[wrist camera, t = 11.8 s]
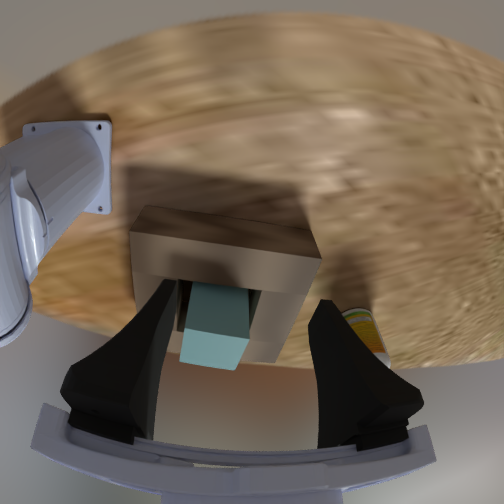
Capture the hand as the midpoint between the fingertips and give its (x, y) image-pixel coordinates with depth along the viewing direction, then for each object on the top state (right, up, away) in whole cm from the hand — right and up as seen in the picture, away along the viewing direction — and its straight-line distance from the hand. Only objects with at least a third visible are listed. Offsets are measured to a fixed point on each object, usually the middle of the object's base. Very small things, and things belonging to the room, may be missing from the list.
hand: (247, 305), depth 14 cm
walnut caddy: (-3, 0, +13) cm, 13 cm away
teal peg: (-3, 0, +13) cm, 13 cm away
